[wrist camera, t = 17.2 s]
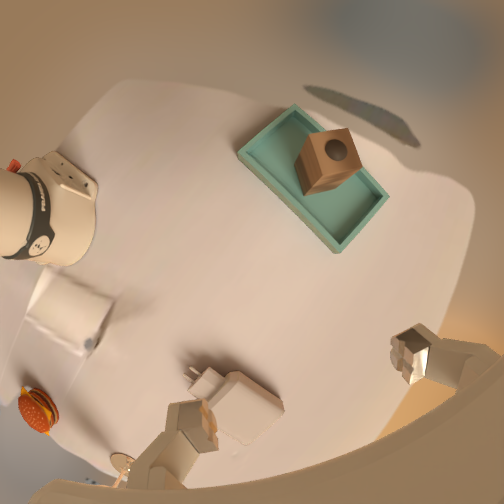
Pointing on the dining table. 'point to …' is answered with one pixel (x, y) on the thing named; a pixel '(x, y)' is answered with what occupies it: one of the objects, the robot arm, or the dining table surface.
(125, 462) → the wineglass
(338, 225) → the tray
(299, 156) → the block
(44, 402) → the hamburger
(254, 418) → the charger
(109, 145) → the dining table surface
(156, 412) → the dining table surface
